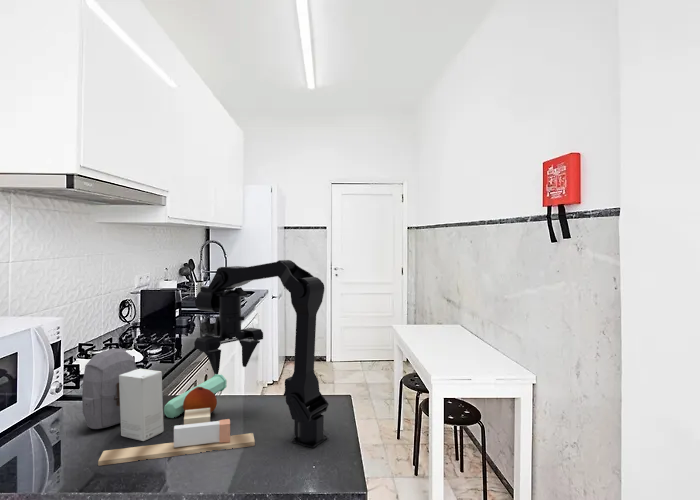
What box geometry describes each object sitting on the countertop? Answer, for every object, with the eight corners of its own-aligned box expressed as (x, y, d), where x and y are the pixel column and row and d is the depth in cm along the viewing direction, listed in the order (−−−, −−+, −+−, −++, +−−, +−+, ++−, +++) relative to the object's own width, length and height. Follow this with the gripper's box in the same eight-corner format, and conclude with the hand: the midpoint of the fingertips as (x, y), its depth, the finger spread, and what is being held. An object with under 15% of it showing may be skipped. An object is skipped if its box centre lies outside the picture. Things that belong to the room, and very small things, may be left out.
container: (173, 398, 120) (223, 371, 144) (156, 404, 121) (208, 376, 146) (180, 418, 119) (229, 388, 144) (163, 424, 121) (214, 393, 145)
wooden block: (210, 441, 107) (210, 416, 107) (183, 444, 105) (183, 419, 105) (210, 431, 113) (210, 407, 113) (185, 433, 111) (185, 410, 111)
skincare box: (164, 432, 112) (164, 371, 112) (142, 443, 106) (142, 378, 106) (140, 426, 115) (140, 367, 115) (118, 436, 109) (118, 373, 109)
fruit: (211, 422, 118) (211, 392, 118) (178, 422, 119) (178, 392, 118) (221, 410, 127) (221, 382, 127) (190, 409, 127) (191, 382, 127)
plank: (252, 437, 109) (252, 433, 109) (254, 445, 105) (254, 441, 105) (103, 455, 100) (103, 450, 100) (98, 465, 95) (98, 461, 95)
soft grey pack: (126, 412, 125) (126, 341, 125) (148, 416, 122) (148, 344, 122) (74, 432, 111) (74, 353, 111) (97, 438, 108) (97, 357, 108)
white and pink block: (229, 436, 107) (229, 418, 107) (230, 441, 104) (230, 423, 104) (174, 442, 103) (174, 424, 103) (173, 448, 100) (173, 430, 100)
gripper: (239, 306, 132) (239, 359, 132) (182, 314, 117) (182, 373, 117) (264, 309, 125) (264, 364, 125) (206, 318, 110) (207, 380, 110)
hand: (230, 370), depth 120 cm, fingers open, 9 cm apart
